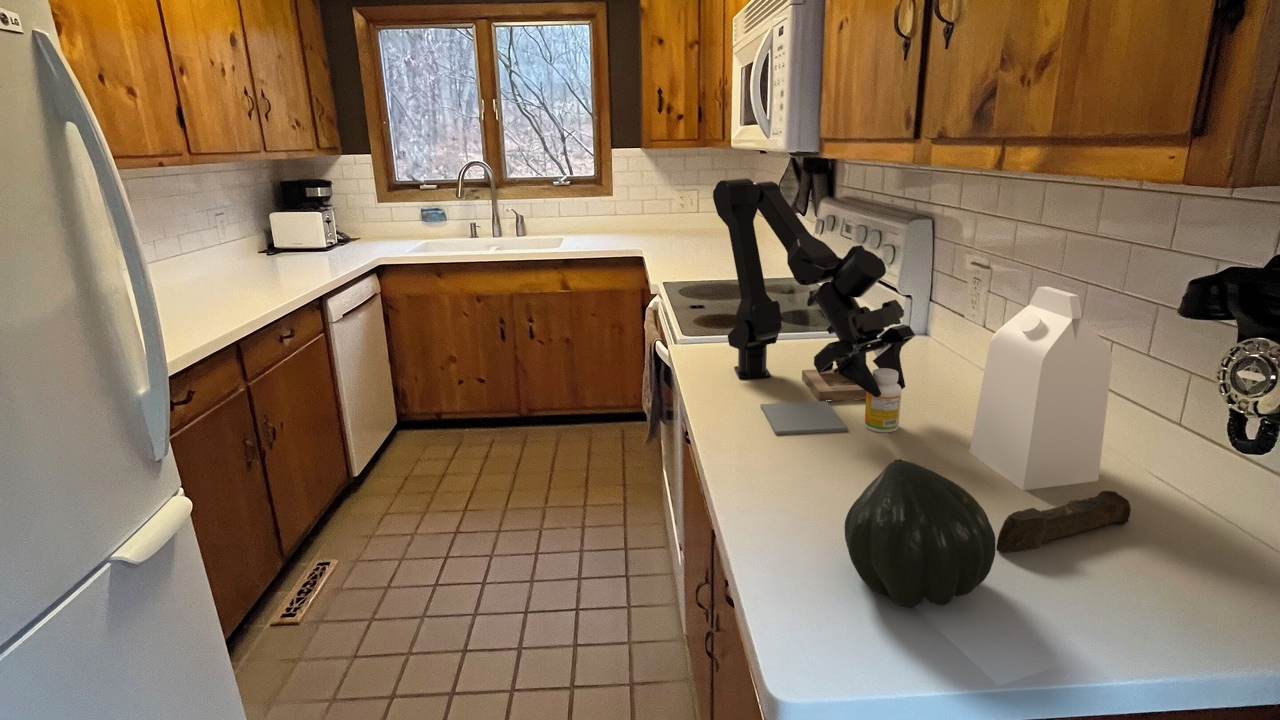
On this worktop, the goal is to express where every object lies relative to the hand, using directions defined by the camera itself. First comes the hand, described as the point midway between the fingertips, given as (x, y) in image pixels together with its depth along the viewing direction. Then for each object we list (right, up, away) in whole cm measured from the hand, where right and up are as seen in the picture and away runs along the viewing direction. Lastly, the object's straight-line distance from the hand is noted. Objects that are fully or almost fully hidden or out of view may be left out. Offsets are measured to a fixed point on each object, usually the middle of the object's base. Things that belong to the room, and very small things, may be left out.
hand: (891, 392), depth 113 cm
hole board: (-2, 0, +20) cm, 20 cm away
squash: (-11, -20, -36) cm, 42 cm away
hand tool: (+10, -17, -29) cm, 35 cm away
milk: (+16, -10, -11) cm, 22 cm away
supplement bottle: (0, -6, +3) cm, 7 cm away
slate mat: (-13, -5, +8) cm, 16 cm away
